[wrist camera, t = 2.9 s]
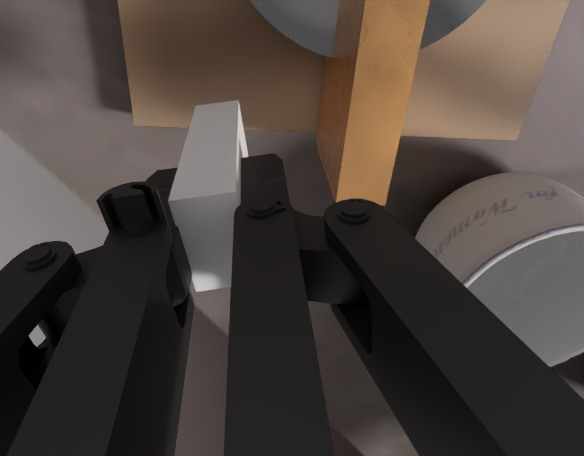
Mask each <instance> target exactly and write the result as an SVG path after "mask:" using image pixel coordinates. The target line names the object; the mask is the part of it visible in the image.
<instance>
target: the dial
mask: <svg viewBox="0 0 584 456" xmlns="http://www.w3.org/2000/svg"><path fill="white" fill-rule="evenodd" d="M250 1H251V2H252V4H253V5H254V7H255V8H256V9H257V10H258V11H259V12H260V13H261V14H262V15H263V16H264V17H265V19H266V20H267V21H268V22H269V23H270V24H271V25H273V26H274V27H275V28H276V29H277V30H279V31H280V32H281V33H282V34H284V35H285V36H286V37H288V38H289V39H291V40H292V41H294V42H296V43H297V44H299V45H301V46H302V47H304V48H307V49H309V50H311V51H313V52H316V53H318V54H320V55H324V56H326V57H325V66H324V75H323V85H322V94H321V103H320V113H319V122H318V131H317V140H316V147H317V150H318V153H319V156H320V159H321V162H322V165H323V168H324V171H325V174H326V177H327V180H328V183H329V186H330V189H331V192H332V195H333V198H334V201H335V203H336V202H339V201H341V200H347V199H352V198H356V199H358V198H359V199H365V200H369V201H373V202H375V203H377V204H378V205H385V204H386V199H387V195H388V190H389V186H390V181H391V177H392V172H393V167H394V163H395V158H396V154H397V149H398V145H399V140H400V135H401V131H402V126H403V122H404V117H405V113H406V108H407V103H408V99H409V94H410V90H411V85H412V80H413V76H414V71H415V67H416V62H417V58H418V53H419V50H420V49H422V48H425V47H427V46H429V45H431V44H433V43H434V42H436V41H438V40H440V39H441V38H443V37H445V36H446V35H448V34H449V33H451V32H452V31H453V30H455V29H456V28H457V27H459V26H460V25H461V24H463V23H464V22H465V21H466V20H467V19H468V18H469V17H470V16H472V15H473V14H474V13H475V12H476V11H477V10H478V9H479V8H480V7H481V6H482V5H483V4H484V3H485V2H486V0H250Z"/></svg>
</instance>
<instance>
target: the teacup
mask: <svg viewBox="0 0 584 456" xmlns="http://www.w3.org/2000/svg"><path fill="white" fill-rule="evenodd" d="M415 239H416V240H417V241H418V242H419V243H420V244H421V245H422V246H423V247H425V248H426V249H427V250H428V251H429V252H430V253H431V254H432V255H433V256H434V257H435V258H436V259H437V260H438V261H439V262H440V263H441V264H442V265H443V266H444V267H445V268H446V269H448V270H449V271H450V272H451V273H452V274H453V275H454V276H455V277H456V278H457V279H458V280H459V281H460V282H461V283H462V284H463V285H464V286H465V287H466V288H467V289H468V290H470V291H471V292H472V293H473V294H474V295H475V296H476V297H477V298H478V299H479V300H480V301H481V302H482V303H483V304H484V305H485V306H486V307H487V308H488V309H489V310H490V311H491V312H493V313H494V314H495V315H496V316H497V317H498V318H499V319H500V320H501V321H502V322H503V323H504V324H505V325H506V326H507V327H508V328H509V329H510V330H511V331H512V332H513V333H514V334H516V335H517V336H518V337H519V338H520V339H521V340H522V341H523V342H524V343H525V344H526V345H527V346H528V347H529V348H530V349H531V350H532V351H533V352H534V353H535V354H536V355H538V356H539V357H540V358H541V359H542V360H543V361H544V362H545V363H546V364H547V365H548V366H549V367H552V366H554V365H557V364H559V363H562V362H564V361H567V360H568V359H570V358H572V357H575V356H577V355H579V354H581V353H583V352H584V198H583V197H582V196H580V195H579V194H577V193H576V192H574V191H573V190H571V189H570V188H568V187H566V186H565V185H563V184H561V183H559V182H557V181H555V180H553V179H550V178H548V177H545V176H541V175H537V174H532V173H522V172H509V173H500V174H495V175H491V176H487V177H484V178H481V179H478V180H476V181H473V182H471V183H469V184H467V185H465V186H463V187H461V188H459V189H457V190H456V191H454V192H453V193H451V194H450V195H449V196H447V197H446V198H445V199H443V200H442V201H441V202H440V203H439V204H438V205H436V207H435V208H434V209H433V210H432V211H431V212H430V213H429V214H428V216H427V217H426V218H425V220H424V221H423V223H422V224H421V226H420V228H419V230H418V232H417V234H416V236H415Z"/></svg>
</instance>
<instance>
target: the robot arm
mask: <svg viewBox="0 0 584 456" xmlns="http://www.w3.org/2000/svg"><path fill="white" fill-rule="evenodd" d="M96 201H97V203H98V206H99V208H100V210H101V213H102V215H103V217H104V220H105V222H106V225H107V227H108V229H109V234H108V236H107V238H106V240H105V242H104V245H103V246H100V247H98V248H95V249H92V250H89V251H85V252H83V253H79V254H75V252H74V250H73V248H72V246H71V245H69V244H68V243H67V242H62V241H52V242H44V243H40V244H37V245H34V246H32V247H30V248H29V249H27V250H25V251H23V252H21V253H20V254H19V255H17V256H16V257H15V258H13V259H12V260H11V261H10V262H9V263H8V264H7V265H6V266H5V267H4V268H3V269H2V270H1V271H0V456H174V454H175V446H176V438H177V431H178V423H179V416H180V408H181V401H182V393H183V386H184V378H185V370H186V363H187V355H188V348H189V341H190V333H191V326H192V318H193V310H194V303H193V298H192V295H191V292H190V283H191V277H192V280H193V283H194V286H195V289H196V292H199V291H206V290H213V289H220V288H227V287H231V299H230V323H229V346H228V371H227V395H226V418H225V443H224V456H334V452H333V446H332V441H331V434H330V428H329V423H328V417H327V411H326V405H325V399H324V394H323V388H322V382H321V376H320V370H319V365H318V359H317V353H316V347H315V341H314V335H313V330H312V324H311V318H310V312H309V306H308V301H315V302H324V303H330V305H331V309H332V311H333V313H334V315H335V316H336V318H337V320H338V321H339V323H340V325H341V326H342V328H343V330H344V331H345V333H346V335H347V336H348V338H349V340H350V341H351V343H352V345H353V346H354V348H355V350H356V351H357V353H358V355H359V356H360V358H361V360H362V361H363V363H364V365H365V366H366V368H367V370H368V371H369V373H370V375H371V376H372V378H373V380H374V381H375V383H376V385H377V386H378V388H379V390H380V391H381V393H382V395H383V396H384V398H385V400H386V401H387V403H388V405H389V406H390V408H391V410H392V411H393V413H394V415H395V416H396V418H397V420H398V421H399V423H400V425H401V426H402V428H403V430H404V431H405V433H406V435H407V436H408V438H409V440H410V441H411V443H412V445H413V446H414V448H415V450H416V451H417V453H418V455H419V456H584V399H582V398H581V397H580V396H579V395H578V394H577V393H576V392H575V391H574V390H573V389H572V388H571V387H570V386H569V385H568V384H567V383H566V382H565V381H564V380H563V379H562V378H561V377H559V376H558V375H557V374H556V373H555V372H554V371H553V370H552V369H551V368H550V367H549V366H548V365H547V364H546V363H545V362H544V361H543V360H542V359H541V358H540V357H539V356H538V355H536V354H535V353H534V352H533V351H532V350H531V349H530V348H529V347H528V346H527V345H526V344H525V343H524V342H523V341H522V340H521V339H520V338H519V337H518V336H517V335H516V334H514V333H513V332H512V331H511V330H510V329H509V328H508V327H507V326H506V325H505V324H504V323H503V322H502V321H501V320H500V319H499V318H498V317H497V316H496V315H495V314H494V313H493V312H491V311H490V310H489V309H488V308H487V307H486V306H485V305H484V304H483V303H482V302H481V301H480V300H479V299H478V298H477V297H476V296H475V295H474V294H473V293H472V292H471V291H470V290H468V289H467V288H466V287H465V286H464V285H463V284H462V283H461V282H460V281H459V280H458V279H457V278H456V277H455V276H454V275H453V274H452V273H451V272H450V271H449V270H448V269H446V268H445V267H444V266H443V265H442V264H441V263H440V262H439V261H438V260H437V259H436V258H435V257H434V256H433V255H432V254H431V253H430V252H429V251H428V250H427V249H426V248H425V247H423V246H422V245H421V244H420V243H419V242H418V241H417V240H416V239H415V238H414V237H413V236H412V235H411V234H410V233H409V232H408V231H407V230H406V229H405V228H404V227H403V226H402V225H400V224H399V223H398V222H397V221H396V220H395V219H394V218H393V217H392V216H391V215H390V214H389V213H388V212H387V211H386V210H385V209H384V208H383V207H382V206H380V205H378V204H377V203H375V202H373V201H369V200H365V199H359V198H358V199H356V198H352V199H347V200H341V201H339V202H336V203H334V204H332V205H331V206H330V207H328V208H327V209H326V211H325V214H324V217H321V216H310V215H306V214H302V213H300V212H298V211H296V210H295V209H294V208H293V207H292V206H291V204H290V202H289V196H288V190H287V185H286V179H285V173H284V167H283V162H282V159H280V158H279V157H278V156H277V155H275V154H267V155H259V156H252V157H248V151H247V145H246V140H245V134H244V128H243V123H242V117H241V111H240V105H239V100H235V101H228V102H220V103H212V104H205V105H197V106H196V107H195V110H194V114H193V117H192V120H191V124H190V127H189V131H188V134H187V138H186V141H185V144H184V148H183V151H182V155H181V158H180V162H179V165H178V168H172V169H165V170H157V171H156V172H155V173H154V174H153V175H151V176H150V177H149V178H148V179H147V180H146V182H131V183H126V184H122V185H119V186H117V187H114V188H112V189H110V190H108V191H106V192H105V193H103V194H102V195H101V196H100V197H99V198H98V199H97V200H96ZM37 325H39V327H40V329H41V330H42V332H43V333H44V335H45V336H46V339H45V340H44V341H43V342H42V343H41V344H40V345H39V346H38V347H36V346H35V345H34V344H33V343H32V341H31V339H30V338H29V336H28V335H29V334H30V333H31V332H32V331H33V329H34V328H35V327H36V326H37Z"/></svg>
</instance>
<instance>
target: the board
mask: <svg viewBox="0 0 584 456" xmlns="http://www.w3.org/2000/svg"><path fill="white" fill-rule="evenodd" d="M117 1H118V8H119V16H120V23H121V31H122V38H123V46H124V53H125V60H126V68H127V75H128V83H129V90H130V98H131V105H132V112H133V120H134V125H137V126H163V127H190V124H191V120H192V117H193V114H194V110H195V107H196V106H197V105H205V104H212V103H220V102H228V101H235V100H239V105H240V111H241V117H242V123H243V128H244V130H266V131H291V132H317V131H318V122H319V113H320V103H321V94H322V85H323V75H324V66H325V57H326V56H324V55H320V54H318V53H316V52H313V51H311V50H309V49H307V48H304V47H302V46H301V45H299V44H297V43H296V42H294V41H292V40H291V39H289V38H288V37H286V36H285V35H284V34H282V33H281V32H280V31H279V30H277V29H276V28H275V27H274V26H273V25H271V24H270V23H269V22H268V21H267V20H266V19H265V17H264V16H263V15H262V14H261V13H260V12H259V11H258V10H257V9H256V8H255V7H254V5H253V4H252V2H251V1H250V0H117ZM568 3H569V0H486V2H485V3H484V4H483V5H482V6H481V7H480V8H479V9H478V10H477V11H476V12H475V13H474V14H473V15H472V16H470V17H469V18H468V19H467V20H466V21H465V22H464V23H463V24H461V25H460V26H459V27H457V28H456V29H455V30H453V31H452V32H451V33H449V34H448V35H446V36H445V37H443V38H441V39H440V40H438V41H436V42H434V43H433V44H431V45H429V46H427V47H425V48H422V49H420V50H419V53H418V58H417V62H416V67H415V71H414V76H413V80H412V85H411V90H410V94H409V99H408V103H407V108H406V113H405V117H404V122H403V126H402V131H401V135H400V136H420V137H445V138H471V139H497V140H517V139H518V136H519V133H520V131H521V128H522V125H523V123H524V120H525V117H526V115H527V112H528V109H529V107H530V104H531V101H532V99H533V96H534V93H535V91H536V88H537V85H538V83H539V80H540V77H541V75H542V72H543V69H544V67H545V64H546V61H547V59H548V56H549V53H550V51H551V48H552V45H553V43H554V40H555V38H556V35H557V32H558V30H559V27H560V24H561V22H562V19H563V16H564V14H565V11H566V8H567V6H568Z"/></svg>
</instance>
